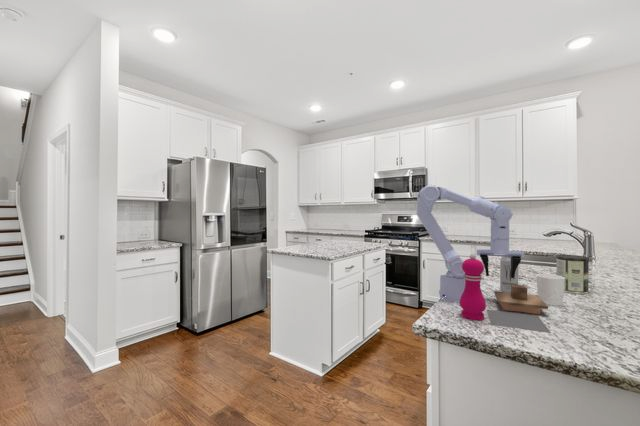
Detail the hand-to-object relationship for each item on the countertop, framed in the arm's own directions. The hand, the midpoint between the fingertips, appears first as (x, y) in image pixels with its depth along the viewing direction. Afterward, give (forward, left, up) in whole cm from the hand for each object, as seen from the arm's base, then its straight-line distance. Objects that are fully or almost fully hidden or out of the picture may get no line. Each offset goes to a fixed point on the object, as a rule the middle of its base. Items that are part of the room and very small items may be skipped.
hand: (499, 276), depth 107 cm
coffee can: (+29, +30, -10) cm, 43 cm away
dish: (+5, -5, -9) cm, 12 cm away
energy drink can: (+5, +15, -10) cm, 18 cm away
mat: (+2, -19, -9) cm, 21 cm away
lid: (+5, -6, -6) cm, 10 cm away
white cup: (+16, +5, -10) cm, 19 cm away
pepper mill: (-9, -21, -10) cm, 25 cm away
